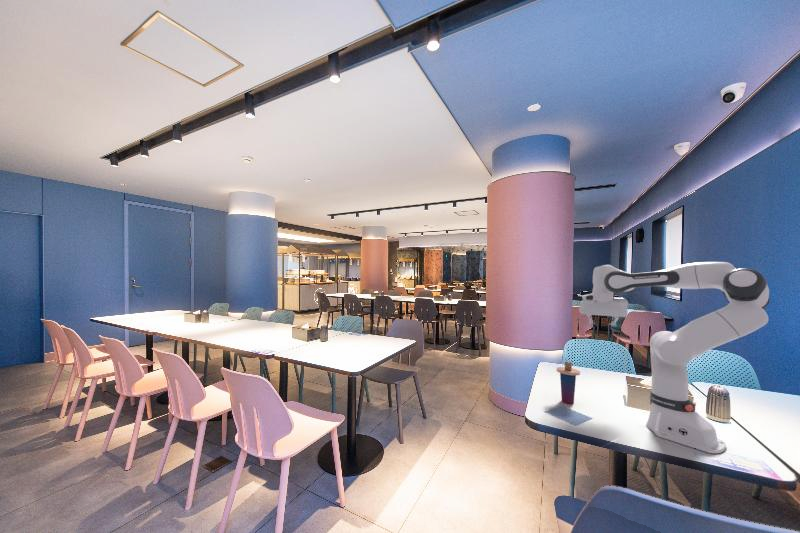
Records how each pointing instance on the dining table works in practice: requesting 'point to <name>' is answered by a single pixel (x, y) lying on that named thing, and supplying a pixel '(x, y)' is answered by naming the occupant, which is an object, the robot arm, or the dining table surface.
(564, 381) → the cup
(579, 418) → the mat
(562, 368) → the lid
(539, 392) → the dining table surface
